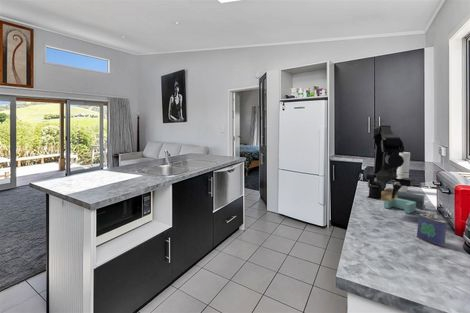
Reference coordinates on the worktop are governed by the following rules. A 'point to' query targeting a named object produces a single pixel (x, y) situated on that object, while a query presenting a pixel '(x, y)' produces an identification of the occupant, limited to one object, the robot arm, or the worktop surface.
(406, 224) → the worktop surface
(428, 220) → the flask
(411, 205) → the slot block
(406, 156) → the cylindrical container
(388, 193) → the oak peg
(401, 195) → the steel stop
